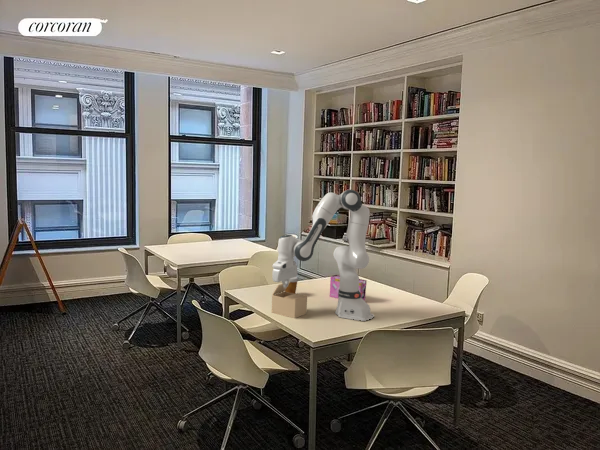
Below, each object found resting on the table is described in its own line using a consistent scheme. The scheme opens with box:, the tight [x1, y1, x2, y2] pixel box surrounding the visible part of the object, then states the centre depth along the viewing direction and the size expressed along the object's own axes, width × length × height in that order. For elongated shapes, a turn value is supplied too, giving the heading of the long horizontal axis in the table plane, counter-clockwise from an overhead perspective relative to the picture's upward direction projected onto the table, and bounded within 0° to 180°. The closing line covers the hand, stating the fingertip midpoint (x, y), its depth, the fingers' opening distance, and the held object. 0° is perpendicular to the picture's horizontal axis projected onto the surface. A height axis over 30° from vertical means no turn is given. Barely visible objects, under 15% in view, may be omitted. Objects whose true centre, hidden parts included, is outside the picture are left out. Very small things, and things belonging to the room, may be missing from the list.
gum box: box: [329, 274, 368, 302], centre depth 320 cm, size 24×8×14 cm, turn 56°
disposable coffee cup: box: [284, 276, 299, 294], centre depth 322 cm, size 10×10×12 cm
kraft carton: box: [271, 291, 308, 319], centre depth 283 cm, size 16×12×10 cm
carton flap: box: [271, 281, 290, 296], centre depth 286 cm, size 8×11×1 cm
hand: (285, 286), depth 284 cm, fingers closed, pressing on carton flap
